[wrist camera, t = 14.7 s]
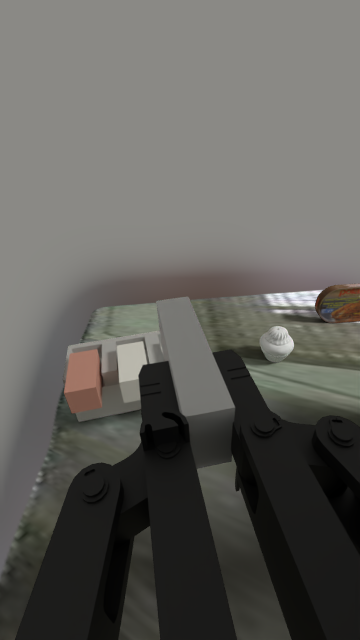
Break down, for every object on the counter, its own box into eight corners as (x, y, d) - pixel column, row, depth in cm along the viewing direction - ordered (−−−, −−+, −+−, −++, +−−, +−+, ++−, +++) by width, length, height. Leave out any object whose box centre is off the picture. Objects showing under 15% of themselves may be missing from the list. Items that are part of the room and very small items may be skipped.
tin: (315, 324, 65) (323, 290, 61) (309, 316, 68) (317, 283, 63) (383, 320, 65) (396, 286, 61) (375, 312, 68) (387, 279, 63)
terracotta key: (102, 368, 47) (97, 349, 45) (101, 407, 40) (95, 387, 38) (76, 373, 46) (69, 353, 44) (71, 413, 40) (63, 393, 37)
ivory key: (146, 360, 48) (143, 341, 46) (152, 397, 41) (149, 376, 39) (121, 365, 47) (117, 345, 45) (123, 403, 41) (119, 382, 39)
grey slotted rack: (189, 365, 56) (187, 325, 51) (200, 397, 50) (199, 355, 45) (81, 385, 53) (68, 345, 48) (78, 422, 47) (62, 380, 42)
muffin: (278, 373, 54) (284, 342, 50) (251, 357, 57) (254, 327, 54) (297, 357, 57) (304, 327, 53) (269, 343, 61) (274, 314, 57)
